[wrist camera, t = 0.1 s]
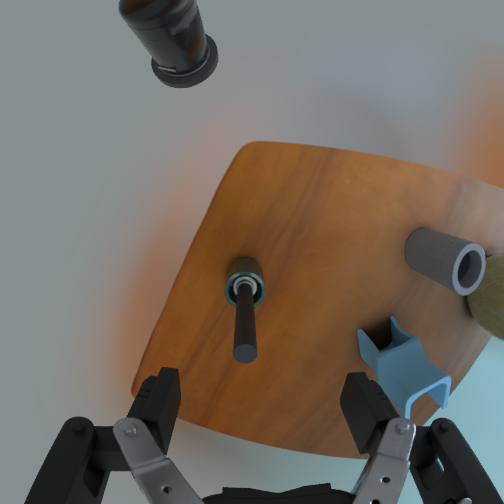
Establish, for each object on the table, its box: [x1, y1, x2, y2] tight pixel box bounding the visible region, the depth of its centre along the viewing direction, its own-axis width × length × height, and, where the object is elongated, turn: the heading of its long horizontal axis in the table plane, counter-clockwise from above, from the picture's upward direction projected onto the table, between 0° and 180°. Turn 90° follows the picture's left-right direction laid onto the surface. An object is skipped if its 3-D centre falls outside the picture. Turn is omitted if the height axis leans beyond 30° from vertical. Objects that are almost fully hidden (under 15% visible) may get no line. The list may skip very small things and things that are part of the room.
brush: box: [233, 275, 257, 363], centre depth 33 cm, size 3×3×22 cm
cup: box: [405, 228, 486, 296], centre depth 38 cm, size 8×8×14 cm
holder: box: [224, 257, 266, 308], centre depth 41 cm, size 5×5×8 cm
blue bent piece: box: [357, 315, 451, 419], centre depth 38 cm, size 8×8×20 cm
